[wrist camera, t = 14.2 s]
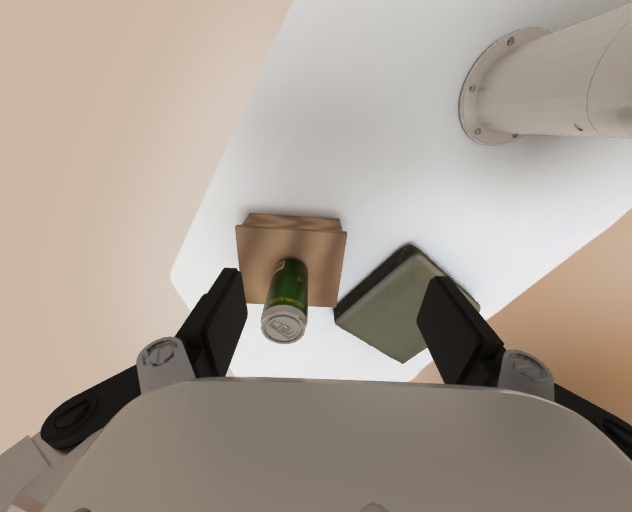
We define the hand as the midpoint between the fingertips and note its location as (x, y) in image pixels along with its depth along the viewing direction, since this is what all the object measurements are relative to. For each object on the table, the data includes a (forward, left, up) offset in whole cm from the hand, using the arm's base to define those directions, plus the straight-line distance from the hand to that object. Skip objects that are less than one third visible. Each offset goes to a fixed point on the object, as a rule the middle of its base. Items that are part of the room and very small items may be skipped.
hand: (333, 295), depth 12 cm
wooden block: (+4, +13, -29) cm, 32 cm away
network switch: (-19, +24, -29) cm, 42 cm away
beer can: (+4, +13, -22) cm, 25 cm away
